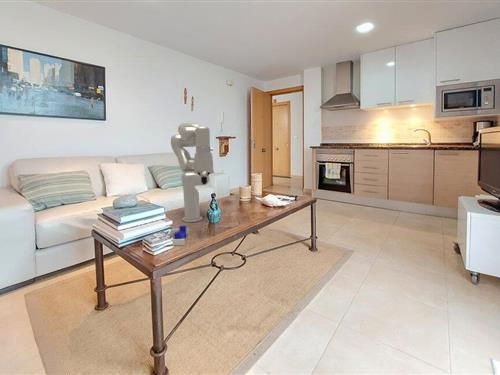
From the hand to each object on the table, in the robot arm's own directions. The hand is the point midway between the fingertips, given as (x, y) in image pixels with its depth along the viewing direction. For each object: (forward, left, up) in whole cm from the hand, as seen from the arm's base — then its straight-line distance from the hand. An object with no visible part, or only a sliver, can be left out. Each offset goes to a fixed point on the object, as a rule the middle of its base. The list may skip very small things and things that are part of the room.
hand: (204, 184), depth 145 cm
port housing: (+11, -14, -27) cm, 32 cm away
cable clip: (+12, -13, -28) cm, 33 cm away
